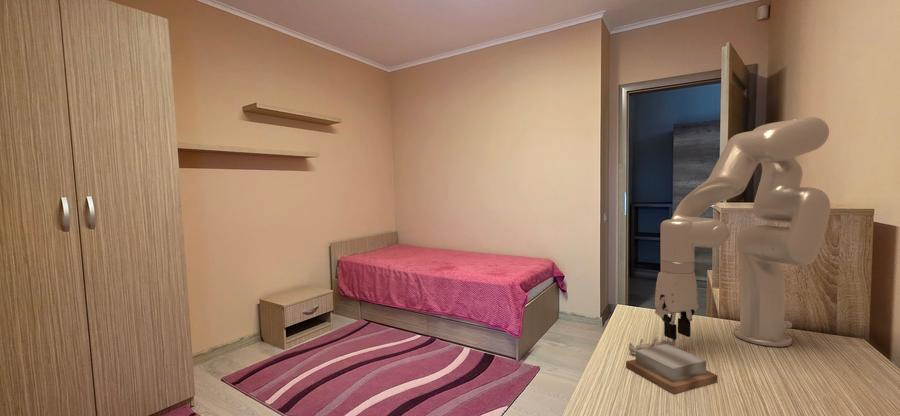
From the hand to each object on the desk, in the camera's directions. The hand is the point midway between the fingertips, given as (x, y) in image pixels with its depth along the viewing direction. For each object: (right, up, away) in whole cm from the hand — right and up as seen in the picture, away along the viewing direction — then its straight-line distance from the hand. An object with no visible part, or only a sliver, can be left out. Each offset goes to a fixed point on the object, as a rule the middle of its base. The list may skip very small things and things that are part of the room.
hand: (677, 335), depth 99 cm
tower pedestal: (-8, -5, -11) cm, 15 cm away
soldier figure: (0, -3, 0) cm, 3 cm away
